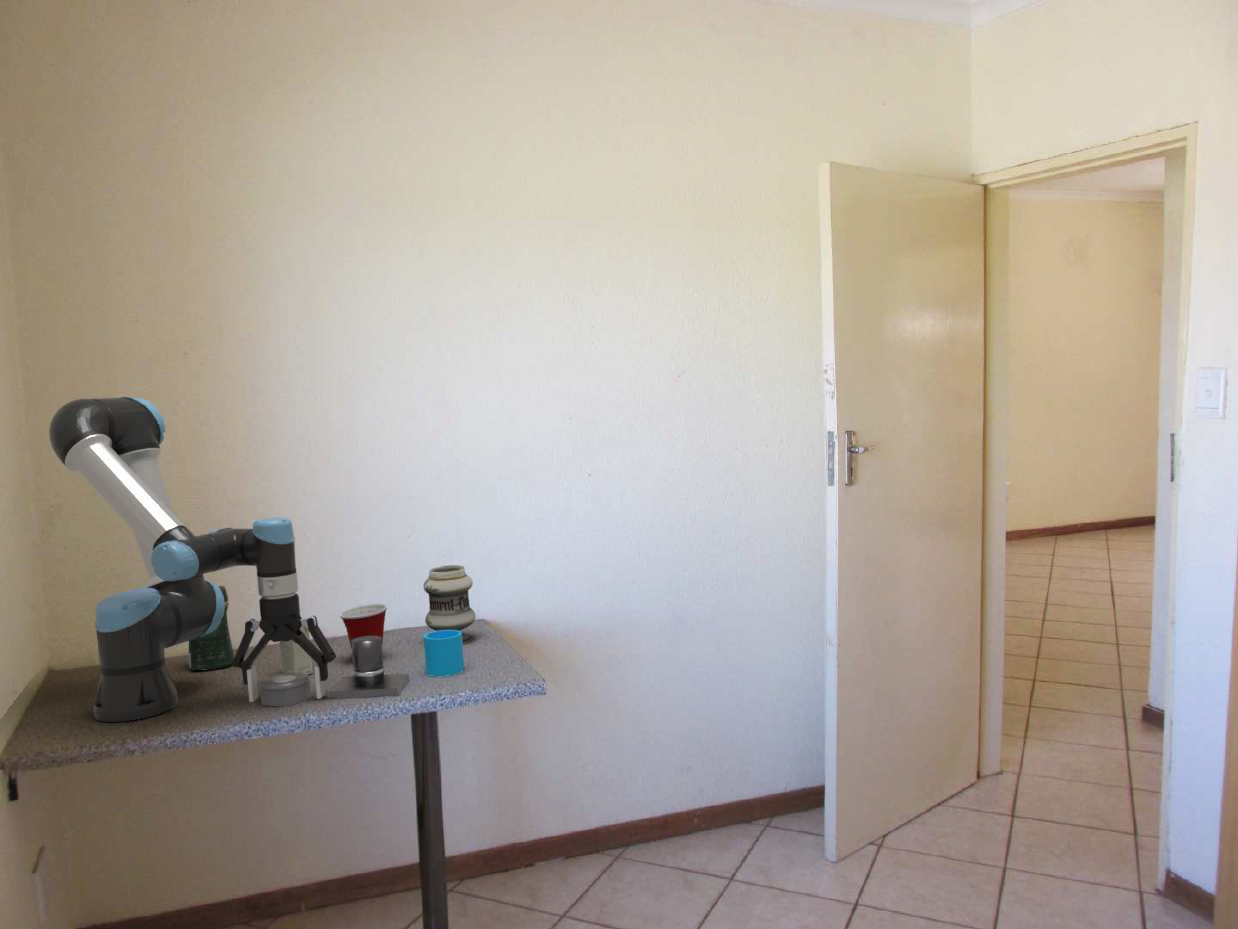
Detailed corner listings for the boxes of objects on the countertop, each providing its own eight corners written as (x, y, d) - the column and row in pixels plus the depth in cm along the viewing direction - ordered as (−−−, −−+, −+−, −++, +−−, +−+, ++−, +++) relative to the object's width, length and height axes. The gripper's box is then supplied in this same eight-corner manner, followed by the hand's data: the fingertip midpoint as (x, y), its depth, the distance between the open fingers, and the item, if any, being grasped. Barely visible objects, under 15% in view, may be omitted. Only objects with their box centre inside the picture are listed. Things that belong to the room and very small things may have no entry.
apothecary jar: (418, 647, 233) (413, 573, 232) (438, 634, 245) (434, 563, 244) (465, 648, 231) (461, 572, 229) (484, 634, 242) (479, 563, 241)
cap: (254, 707, 193) (253, 686, 193) (272, 692, 202) (270, 673, 202) (300, 705, 193) (299, 684, 192) (316, 691, 202) (314, 671, 202)
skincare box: (313, 674, 215) (309, 619, 214) (295, 678, 212) (291, 623, 211) (299, 669, 219) (294, 615, 218) (280, 674, 216) (276, 619, 215)
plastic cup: (338, 658, 227) (334, 607, 226) (384, 651, 231) (381, 601, 231) (347, 669, 217) (344, 616, 216) (396, 661, 222) (392, 609, 221)
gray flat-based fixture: (328, 698, 196) (324, 647, 195) (343, 683, 206) (339, 634, 205) (397, 695, 196) (394, 644, 195) (409, 680, 206) (406, 632, 205)
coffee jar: (235, 659, 230) (229, 582, 229) (233, 668, 223) (226, 588, 221) (190, 665, 227) (184, 586, 226) (187, 674, 220) (180, 592, 218)
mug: (464, 674, 209) (462, 637, 208) (426, 678, 207) (423, 641, 207) (462, 660, 220) (460, 624, 220) (426, 663, 219) (423, 628, 218)
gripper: (208, 602, 192) (218, 707, 194) (334, 595, 192) (343, 701, 193) (224, 594, 200) (233, 695, 201) (346, 588, 199) (354, 689, 201)
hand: (287, 698), depth 197 cm, fingers open, 13 cm apart
